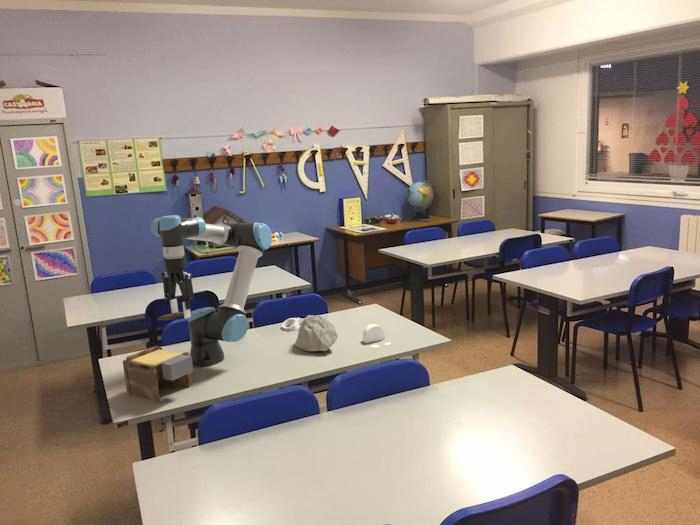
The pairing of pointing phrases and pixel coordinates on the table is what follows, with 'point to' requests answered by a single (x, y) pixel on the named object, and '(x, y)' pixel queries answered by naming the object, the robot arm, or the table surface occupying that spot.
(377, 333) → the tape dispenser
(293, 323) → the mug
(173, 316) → the stone
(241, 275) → the robot arm
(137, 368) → the wooden box
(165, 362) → the trapdoor
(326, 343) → the grey boulder
